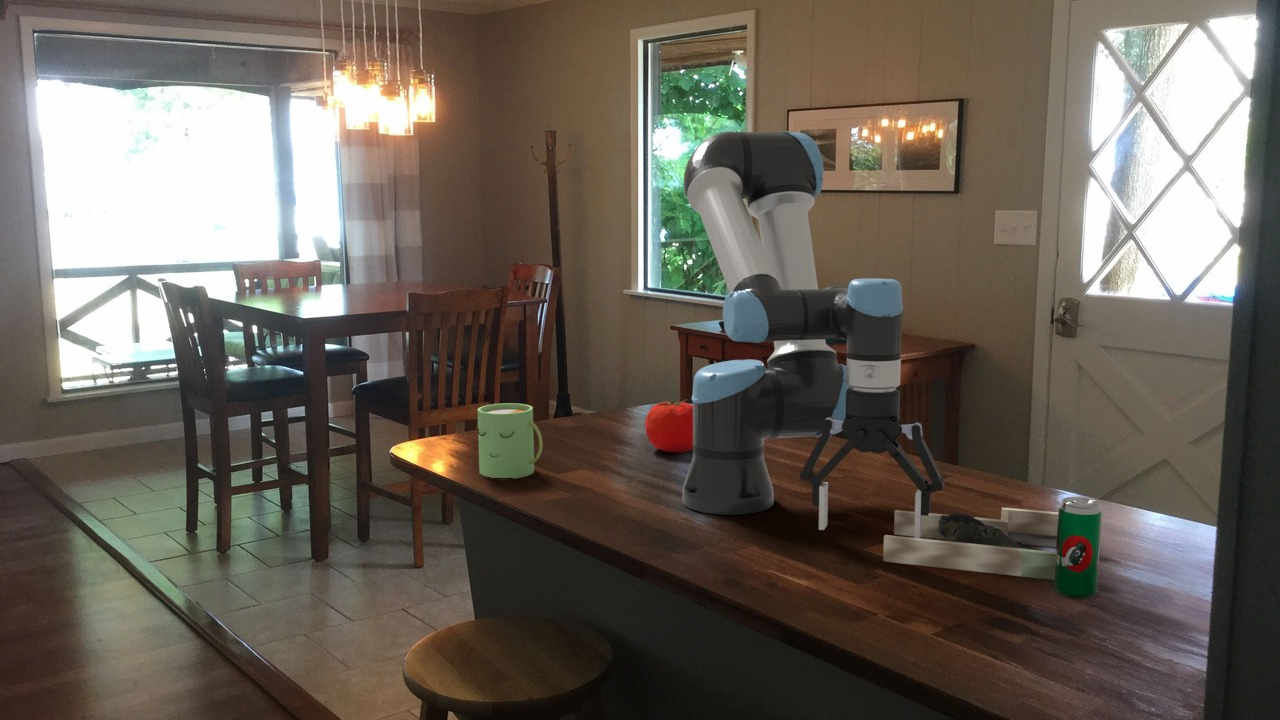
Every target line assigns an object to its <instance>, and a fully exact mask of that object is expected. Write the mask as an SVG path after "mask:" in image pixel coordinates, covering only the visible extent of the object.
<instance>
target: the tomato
mask: <svg viewBox="0 0 1280 720" xmlns="http://www.w3.org/2000/svg"><path fill="white" fill-rule="evenodd" d="M687 400H688V398H687V399H685V400H684V399H683V400H681V401H676V402H675V400H670V401H662V402H659V403H658V404H656V405H655V404H654V405H653V406H652V407H651V409H650V411H648V413H647V415H646V419H645V422H644V426H645V435H646V437H647V439H648V441H649V442H650V444H651V445H652V446H653V447H655V448H656V449H658V450H661V451H664V452H667V453H685V452H688V451H691V450H693V404H690V403H687V402H685V401H687Z"/></svg>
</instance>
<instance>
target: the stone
mask: <svg viewBox="0 0 1280 720" xmlns="http://www.w3.org/2000/svg"><path fill="white" fill-rule="evenodd" d="M944 515H945V514H944ZM944 515H942V516H941V517H940V520H939V527H938V532H939V533H940V534H941V535H942V536H944V537H945V538H946V539H947V540H946V541H950V542H960V543H970V544H980V545H990V546H1000V547H1010V548H1020V549H1028V546H1027V545H1024V544H1022V543H1021V542H1019V541H1014V540H1012V539H1011V538H1009V537H1008V536H1006V535H1004V534H1003V532H1002V531H1001V530H1000V529H998V528H994V527H992V526H987V525H985V524H984V523H982V522H981V521H979V520H977V519H975V518H974V516H971V515H969V514H965V513H959V512H958V513H957V512H954V513H950V514H947V515H948V516H944Z"/></svg>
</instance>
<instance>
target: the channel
mask: <svg viewBox="0 0 1280 720" xmlns="http://www.w3.org/2000/svg"><path fill="white" fill-rule="evenodd" d="M1000 514H1001V515H1000V519H997V518H987V517H978V516H977V517H974V516H973V517H974V518H975V519H977V520H979V521H981V522H982V523H984V524H985V525H987V526H992V527H994V528H998V529H1000V530H1001V531H1002V532H1003V534H1004V535H1006V536H1008V537H1009V538H1011V539H1012V540H1014V541H1019V542H1021V543H1022V544H1024V545H1025V546H1027V547H1029V546H1031V547H1037V548H1048V549H1056V542H1057V524H1058V511H1056V512H1055V511H1045V510H1035V509H1024V508H1013V507H1001V513H1000ZM942 515H944V516H948V515H949V514H943V513H933V512H929V514H928V516H923V515H922V535H921V537H920V538H914V528H915V511H910V510H900V509H895V510H894V518H893V519H894V520H893V521H894V522H893V523H894V524H893V535H888V534H885V535H884V536H883V548H882V549H883V550H882V551H883V556H882V561H883V562H885V563H886V562H887V563H896V564H903V565H914V566H921V567H930V568H931V567H933V568H940V569H951V570H959V571H970V572H979V573H988V574H995V575H996V574H997V575H1007V576H1013V577H1014V576H1016V577H1025V578H1033V579H1041V580H1042V579H1043V580H1051V581H1054V579H1055V561H1056V551H1051V550H1040V549H1039V550H1038V549H1020V548H1010V547H1000V546H990V545H980V544H970V543H960V542H950V541H947V539H946V538H945V537H944V536H942V535H941V534H940V533H939V532H938V527H939V520H940V517H941V516H942ZM924 537H925V538H924ZM934 538H935V539H934ZM944 539H945V540H944Z"/></svg>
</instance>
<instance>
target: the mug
mask: <svg viewBox="0 0 1280 720" xmlns="http://www.w3.org/2000/svg"><path fill="white" fill-rule="evenodd" d="M477 426H478V427H477V434H478V436H477V437H478V464H479V465H478V467H479V475H480V474H482V475H483V476H482V475H481V476H482V477H484V476H487V477H492V478H491V479H493V478H513V479H520V478H524V477H529V476H530V475H532V474H534V473H535V463H536V462H537V461H538V459H540V456H541V454H542V451H543V444H544V443H543V442H544V441H543V437H542V434H541V433H542V432H541V431H540V429H539V427H538V426H537V425H536V423H535V422H534V407H533V406H532V405H529V404H525V403H513V402H512V403H511V402H509V403H507V402H506V403H493V404H486V405H483V406H480V407H478V408H477ZM534 431H535V432H536V435H537V437H538V452H537V454H536V456H535V448H534V446H535V445H534V444H535V443H534ZM487 477H486V478H487Z"/></svg>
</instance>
